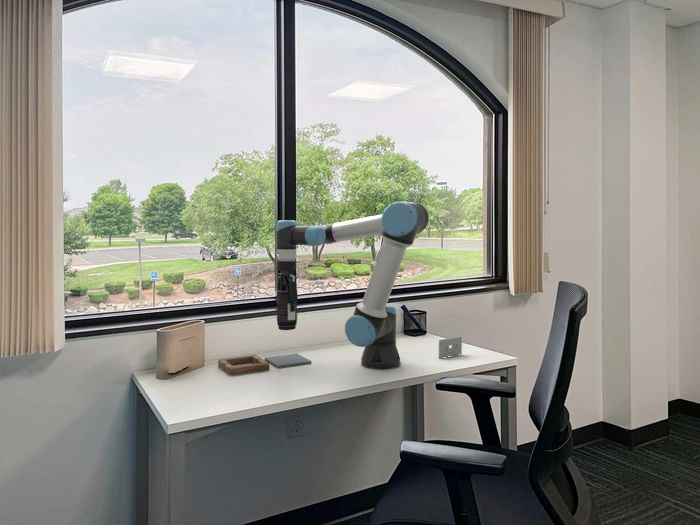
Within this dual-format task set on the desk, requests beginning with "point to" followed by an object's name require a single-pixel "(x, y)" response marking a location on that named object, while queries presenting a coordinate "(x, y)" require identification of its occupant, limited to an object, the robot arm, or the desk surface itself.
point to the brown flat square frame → (256, 367)
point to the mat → (287, 360)
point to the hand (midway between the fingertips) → (287, 317)
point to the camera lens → (284, 312)
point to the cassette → (446, 351)
